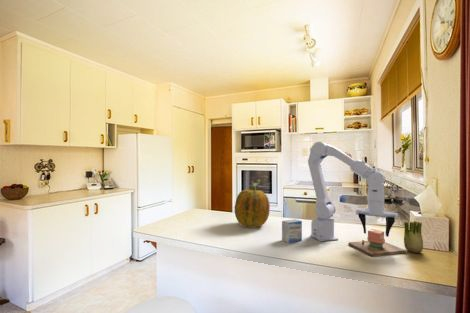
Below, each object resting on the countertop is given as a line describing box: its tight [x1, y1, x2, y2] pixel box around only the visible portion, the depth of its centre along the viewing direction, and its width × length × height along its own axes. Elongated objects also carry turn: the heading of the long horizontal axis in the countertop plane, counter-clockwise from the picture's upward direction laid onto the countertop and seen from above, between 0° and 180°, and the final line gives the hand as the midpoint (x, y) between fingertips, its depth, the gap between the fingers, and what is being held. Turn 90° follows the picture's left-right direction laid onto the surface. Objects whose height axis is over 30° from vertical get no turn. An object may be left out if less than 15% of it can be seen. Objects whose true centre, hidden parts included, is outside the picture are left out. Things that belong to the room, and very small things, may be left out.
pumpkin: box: [234, 178, 271, 228], centre depth 122 cm, size 19×19×25 cm
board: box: [348, 239, 407, 257], centre depth 92 cm, size 16×12×2 cm
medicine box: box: [281, 218, 303, 244], centre depth 101 cm, size 8×4×9 cm, turn 117°
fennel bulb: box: [403, 220, 424, 254], centre depth 90 cm, size 6×5×12 cm
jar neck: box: [369, 242, 383, 248], centre depth 92 cm, size 5×5×2 cm
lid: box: [366, 228, 386, 244], centre depth 92 cm, size 6×6×4 cm
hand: (375, 234), depth 92 cm, fingers open, 7 cm apart
